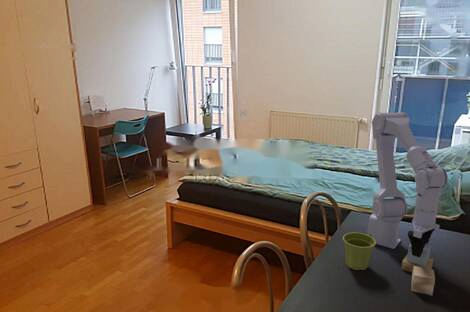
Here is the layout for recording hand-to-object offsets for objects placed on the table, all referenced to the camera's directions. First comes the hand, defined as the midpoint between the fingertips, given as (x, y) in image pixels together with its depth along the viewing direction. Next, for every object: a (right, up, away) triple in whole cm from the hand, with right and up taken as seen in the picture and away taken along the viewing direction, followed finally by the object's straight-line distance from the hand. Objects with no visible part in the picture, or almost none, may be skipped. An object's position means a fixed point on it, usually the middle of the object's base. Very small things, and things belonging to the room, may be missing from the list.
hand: (419, 250), depth 112 cm
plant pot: (-18, -5, +3) cm, 19 cm away
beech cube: (-3, -8, -8) cm, 12 cm away
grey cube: (0, -3, +1) cm, 3 cm away
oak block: (0, -6, +2) cm, 6 cm away
